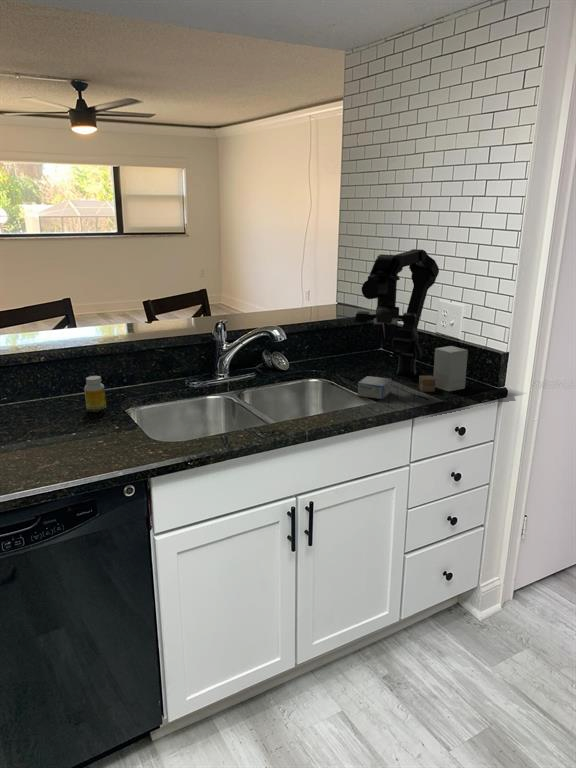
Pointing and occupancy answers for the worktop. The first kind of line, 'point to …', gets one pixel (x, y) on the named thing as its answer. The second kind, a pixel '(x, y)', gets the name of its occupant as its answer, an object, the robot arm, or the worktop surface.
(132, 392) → the worktop surface
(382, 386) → the medicine box
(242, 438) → the worktop surface
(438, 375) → the supplement box
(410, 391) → the worktop surface
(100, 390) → the supplement bottle
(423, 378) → the walnut block
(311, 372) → the worktop surface
